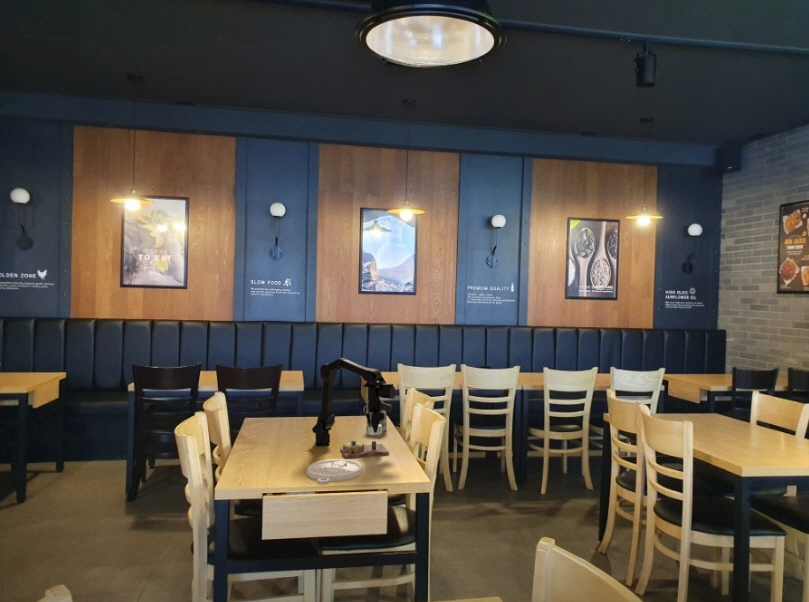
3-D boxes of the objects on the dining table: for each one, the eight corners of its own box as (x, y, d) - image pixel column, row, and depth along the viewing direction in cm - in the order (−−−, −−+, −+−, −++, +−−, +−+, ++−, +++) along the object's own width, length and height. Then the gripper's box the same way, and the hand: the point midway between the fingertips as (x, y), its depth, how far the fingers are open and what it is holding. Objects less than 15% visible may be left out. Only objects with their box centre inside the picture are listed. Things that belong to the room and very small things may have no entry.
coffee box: (387, 429, 307) (387, 400, 307) (381, 432, 302) (381, 402, 301) (372, 428, 311) (372, 398, 311) (366, 430, 305) (366, 400, 305)
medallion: (370, 465, 245) (370, 460, 245) (350, 486, 218) (350, 480, 218) (319, 462, 250) (318, 457, 250) (293, 482, 224) (293, 476, 223)
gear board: (345, 458, 254) (345, 446, 254) (340, 450, 268) (340, 438, 268) (388, 454, 260) (388, 442, 260) (381, 446, 273) (381, 435, 273)
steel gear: (367, 435, 261) (367, 427, 260) (364, 431, 268) (364, 424, 267) (383, 434, 262) (383, 426, 262) (379, 430, 269) (379, 423, 269)
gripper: (395, 399, 258) (395, 434, 258) (385, 392, 276) (385, 424, 276) (371, 401, 255) (371, 435, 255) (363, 393, 273) (363, 426, 273)
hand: (373, 430), depth 265 cm, fingers closed on steel gear, 7 cm apart
